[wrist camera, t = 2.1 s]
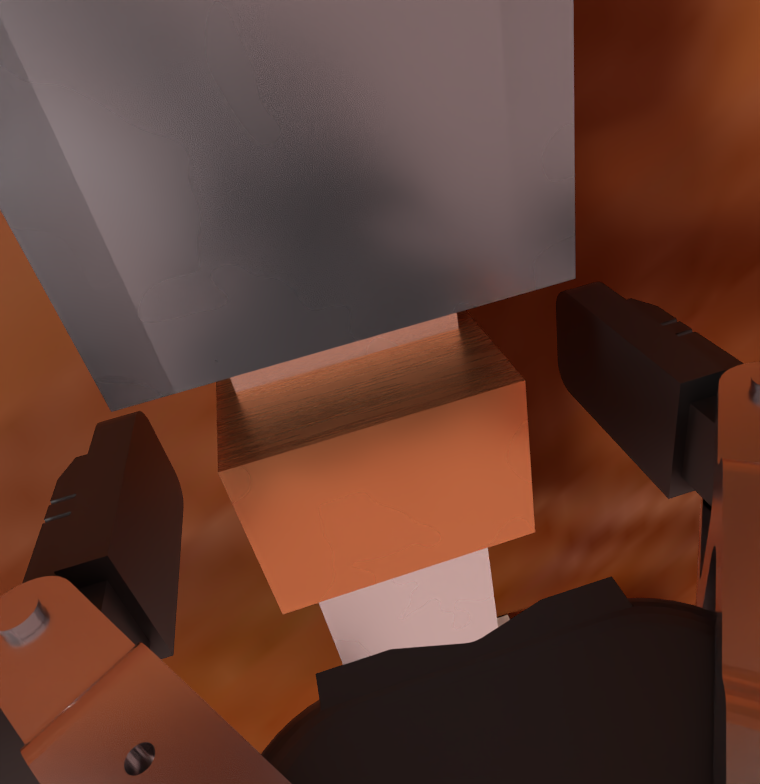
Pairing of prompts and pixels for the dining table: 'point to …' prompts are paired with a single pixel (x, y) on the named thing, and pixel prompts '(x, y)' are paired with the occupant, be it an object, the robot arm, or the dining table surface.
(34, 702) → the robot arm
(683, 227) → the dining table surface
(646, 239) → the dining table surface
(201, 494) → the dining table surface
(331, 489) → the peg
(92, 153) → the block
